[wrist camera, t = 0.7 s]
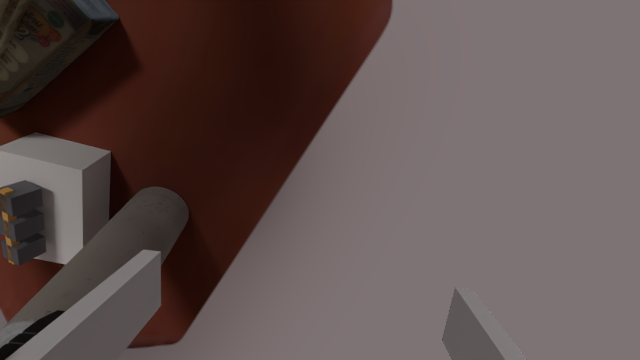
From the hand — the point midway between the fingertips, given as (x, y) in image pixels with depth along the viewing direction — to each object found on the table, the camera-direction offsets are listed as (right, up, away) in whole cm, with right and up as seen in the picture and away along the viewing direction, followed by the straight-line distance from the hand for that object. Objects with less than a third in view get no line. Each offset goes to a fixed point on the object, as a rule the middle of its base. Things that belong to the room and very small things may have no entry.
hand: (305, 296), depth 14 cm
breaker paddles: (-33, +1, +24) cm, 41 cm away
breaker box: (-33, +4, +30) cm, 45 cm away
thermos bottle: (-22, +1, +32) cm, 39 cm away
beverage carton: (-31, +21, +22) cm, 43 cm away
